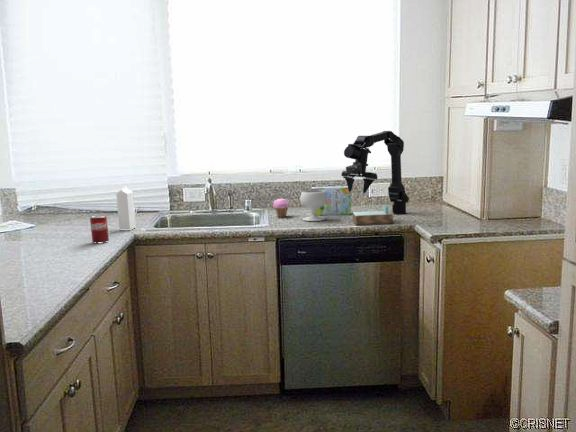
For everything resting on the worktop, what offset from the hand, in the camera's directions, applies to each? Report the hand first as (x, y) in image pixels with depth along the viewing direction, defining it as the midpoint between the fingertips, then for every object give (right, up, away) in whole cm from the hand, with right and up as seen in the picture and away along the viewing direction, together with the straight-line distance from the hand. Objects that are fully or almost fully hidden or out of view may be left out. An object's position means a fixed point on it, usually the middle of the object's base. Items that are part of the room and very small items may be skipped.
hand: (356, 192), depth 290 cm
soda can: (-120, -24, -20) cm, 124 cm away
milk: (-115, -19, +9) cm, 117 cm away
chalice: (-20, -14, +16) cm, 29 cm away
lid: (+7, -11, +2) cm, 13 cm away
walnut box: (+8, -15, +2) cm, 17 cm away
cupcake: (-37, -12, +29) cm, 49 cm away
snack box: (-10, -11, +31) cm, 34 cm away
